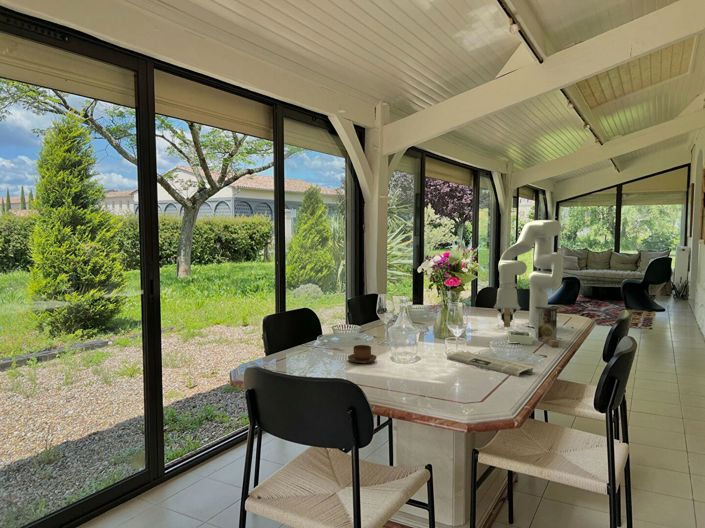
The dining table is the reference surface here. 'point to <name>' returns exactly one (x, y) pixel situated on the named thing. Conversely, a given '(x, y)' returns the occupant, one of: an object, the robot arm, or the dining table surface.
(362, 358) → the cup and saucer
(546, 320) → the coffee box
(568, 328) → the dining table surface
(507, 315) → the wooden square peg
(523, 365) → the newspaper
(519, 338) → the pale green square tray
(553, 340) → the wooden door wedge
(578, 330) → the dining table surface
